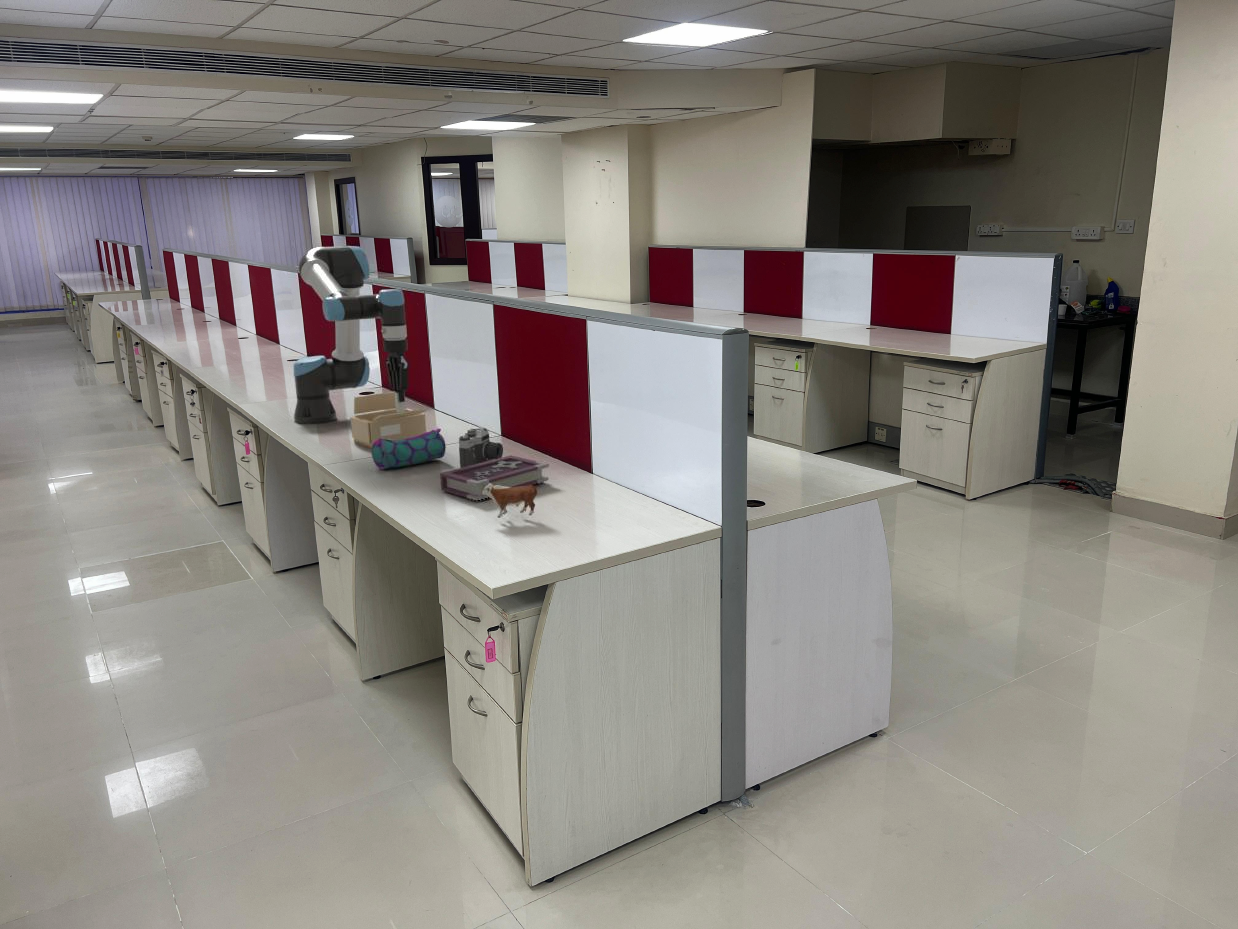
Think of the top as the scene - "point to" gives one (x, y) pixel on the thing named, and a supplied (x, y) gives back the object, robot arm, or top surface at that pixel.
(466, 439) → the camera
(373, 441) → the carton
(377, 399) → the flap
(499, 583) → the top surface
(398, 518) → the top surface
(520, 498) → the bull figurine
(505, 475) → the book
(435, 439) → the pencil case
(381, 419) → the flap
